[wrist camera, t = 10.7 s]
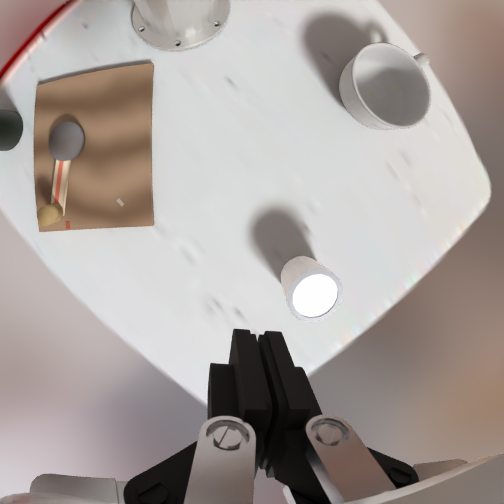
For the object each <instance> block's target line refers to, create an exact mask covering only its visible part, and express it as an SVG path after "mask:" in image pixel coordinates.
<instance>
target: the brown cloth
mask: <svg viewBox="0 0 504 504" xmlns="http://www.w3.org/2000/svg"><path fill="white" fill-rule="evenodd" d="M153 72H154V65H153V63H149V64H140V65H133V66H125V67H119V68H112V69H106V70H101V71H95V72H90V73H85V74H81V75H76V76H72V77H67V78H63V79H59V80H55V81H52V82H48V83H44V84H41V85H37V90H36V101H35V117H34V177H35V194H36V206H37V213H38V210H39V209H40V208H41V207H43V206H46V205H49V204H51V198H52V188H53V180H54V172H55V165H56V159H55V158H54V157H53V156H52V155H51V153H50V151H49V138H50V135H51V133H52V131H53V129H54V128H55V127H56V126H57V125H59V124H60V123H62V122H73V123H77V124H78V125H80V126H81V127H82V129H83V130H84V133H85V145H84V148H83V150H82V152H81V153H80V155H79V156H78V157H76V158H75V159H73V160H71V165H70V171H69V178H68V186H67V195H66V204H65V215H64V216H63V217H62V218H61V220H59V221H57V222H55V223H52V224H50V225H48V226H43V225H41V224H40V223H39V221H38V225H39V232H47V231H63V230H79V229H97V228H117V227H139V226H153V225H154V212H153V190H152V93H153Z"/></svg>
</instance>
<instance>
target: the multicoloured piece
mask: <svg viewBox="0 0 504 504" xmlns="http://www.w3.org/2000/svg"><path fill="white" fill-rule="evenodd" d="M84 145H85V133H84V130H83V129H82V127H81V126H80V125H78V124H77V123H73V122H62V123H60V124H59V125H57V126H56V127H55V128H54V129H53V131H52V133H51V135H50V138H49V151H50V153H51V155H52V156H53V157H54V158H55V159H56V165H55V172H54V180H53V188H52V198H51V204H49V205H46V206H43V207H41V208H40V209H39V210H38V213H37V219H38V221H39V223H40V224H41V225H43V226H48V225H50V224H52V223H55V222H57V221H59V220H61V218H62V217H63V216H64V215H65V204H66V195H67V186H68V178H69V171H70V165H71V160H73V159H75V158H76V157H78V156H79V155H80V153H81V152H82V150H83V148H84Z"/></svg>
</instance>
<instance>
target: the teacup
mask: <svg viewBox="0 0 504 504" xmlns="http://www.w3.org/2000/svg"><path fill="white" fill-rule="evenodd" d="M429 62H430V60H429V58H428V57H427V55H426V54H424V53H420V54H418V55H416V56H414V57H412V56H411V55H410V54H408V53H407V52H406V51H404V50H403V49H401V48H400V47H398V46H395V45H392V44H389V43H382V42H378V43H373V44H369V45H367V46H365V47H363V48H362V49H361V50H360V51H359V52H358V53H357V54H356V56H355V57H353V58H352V59H351V61H350V62H349V63H348V64H347V65H346V66H345V68H344V70H343V71H342V74H341V77H340V82H339V91H340V96H341V99H342V102H343V104H344V106H345V108H346V109H347V111H348V112H349V113H350V115H351V116H352V117H353V118H354V119H355V120H357V121H358V122H359V123H361V124H362V125H364V126H366V127H369V128H372V129H376V130H393V129H404V128H410V127H413V126H416V125H417V124H419V123H420V122H421V121H422V120H423V119H424V118H425V116H426V115H427V113H428V111H429V108H430V105H431V90H430V85H429V82H428V79H427V77H426V75H425V73H424V71H423V69H422V68H423V67H425V66H426V65H427V64H429Z"/></svg>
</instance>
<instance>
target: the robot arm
mask: <svg viewBox="0 0 504 504" xmlns="http://www.w3.org/2000/svg"><path fill="white" fill-rule="evenodd" d="M133 1H134V3H135V4H136V5H135V7H134V10H133V14H132V22H133V26H134V29H135V31H136V33H137V34H138V36H139V37H140V38H141V39H142V40H143V41H144V42H145V43H146V44H148V45H150V46H152V47H154V48H157V49H160V50H166V51H182V50H188V49H192V48H195V47H198V46H200V45H202V44H204V43H206V42H208V41H209V40H211V39H212V38H214V37H215V36H216V35H217V34H218V33H219V32H220V31H221V30H222V29H223V27H224V26H225V24H226V22H227V20H228V17H229V12H230V2H229V0H133ZM216 25H218V26H216ZM142 30H144V31H142ZM141 31H142V32H141ZM177 44H180V45H179V46H176V45H177ZM258 467H260V469H265V471H266V476H267V478H269V477H275V479H276V480H278V481H279V482H281V483H282V490H283V493H284V495H285V498H286V500H287V502H288V504H504V454H497V455H493V456H488V457H484V458H480V459H477V460H474V461H472V462H470V463H468V462H467V461H464V460H462V459H454V460H447V461H439V462H430V463H421V464H414V465H413V467H411V466H410V465H408V464H406V463H404V462H401V461H399V460H396V459H394V458H391V457H389V456H387V455H384V454H382V453H379V452H377V451H375V450H372V449H370V448H368V447H366V446H365V444H364V443H363V442H362V440H361V439H360V438H359V436H358V435H357V433H356V432H355V431H354V429H353V428H352V426H351V425H350V424H349V423H348V422H347V421H345V420H343V419H342V418H340V417H337V416H334V415H323V414H322V412H321V410H320V407H319V405H318V402H317V400H316V398H315V395H314V393H313V390H312V388H311V386H310V383H309V381H308V378H307V376H306V374H305V371H304V369H303V368H302V367H295V366H294V363H293V361H292V358H291V356H290V353H289V350H288V348H287V345H286V343H285V340H284V337H283V335H282V333H281V332H277V331H265V333H264V335H259V337H258V342H257V339H256V335H255V334H251V333H250V330H244V329H234V330H233V335H232V342H231V350H230V357H229V364H216V363H211V364H210V371H209V382H208V420H207V421H206V422H205V423H204V424H203V426H202V428H201V430H200V434H199V438H198V441H196V442H194V443H193V444H191V445H190V446H188V447H186V448H185V449H183V450H181V451H180V452H178V453H176V454H175V455H173V456H171V457H170V458H168V459H166V460H164V461H163V462H161V463H159V464H157V465H156V466H154V467H152V468H150V469H148V470H147V471H145V472H143V473H141V474H139V475H137V476H135V477H134V478H132V479H131V480H130V481H128V482H127V481H126V482H124V481H116V480H115V478H91V477H78V476H66V475H58V474H42V475H40V476H37V477H36V478H35V479H34V480H33V481H32V484H31V487H30V493H20V494H12V495H8V496H5V497H3V498H1V499H0V504H253V497H254V496H253V495H254V479H255V476H256V473H257V470H258Z"/></svg>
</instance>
